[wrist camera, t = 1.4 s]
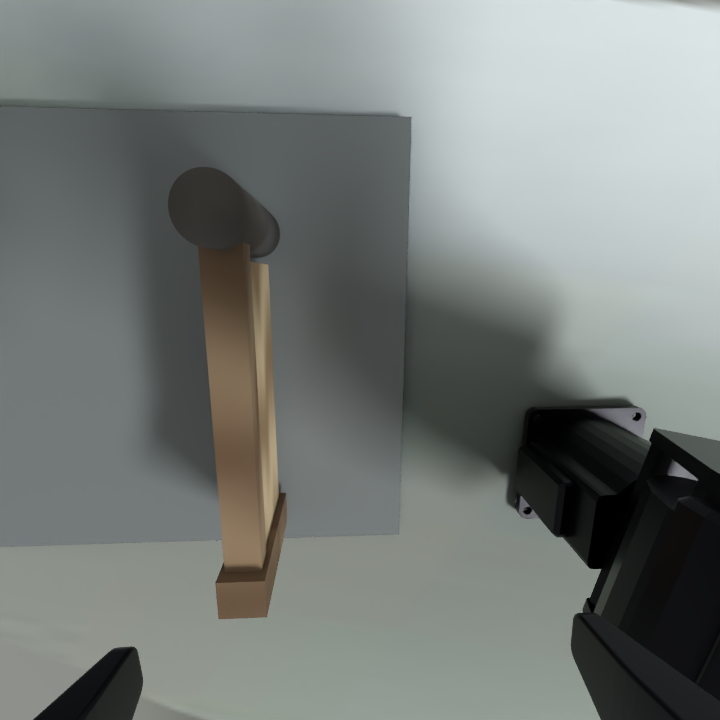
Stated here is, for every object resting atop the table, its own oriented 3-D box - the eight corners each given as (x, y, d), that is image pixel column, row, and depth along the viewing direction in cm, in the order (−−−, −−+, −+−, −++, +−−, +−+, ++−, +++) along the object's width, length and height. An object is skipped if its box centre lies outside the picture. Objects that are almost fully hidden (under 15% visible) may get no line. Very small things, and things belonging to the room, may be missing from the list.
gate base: (408, 122, 18) (453, 25, 11) (397, 527, 22) (423, 639, 15) (-152, 107, 16) (-503, -12, 10) (-43, 540, 21) (-229, 670, 14)
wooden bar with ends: (228, 206, 17) (163, 165, 11) (279, 207, 17) (244, 167, 11) (249, 520, 20) (209, 631, 14) (291, 519, 21) (269, 628, 14)
